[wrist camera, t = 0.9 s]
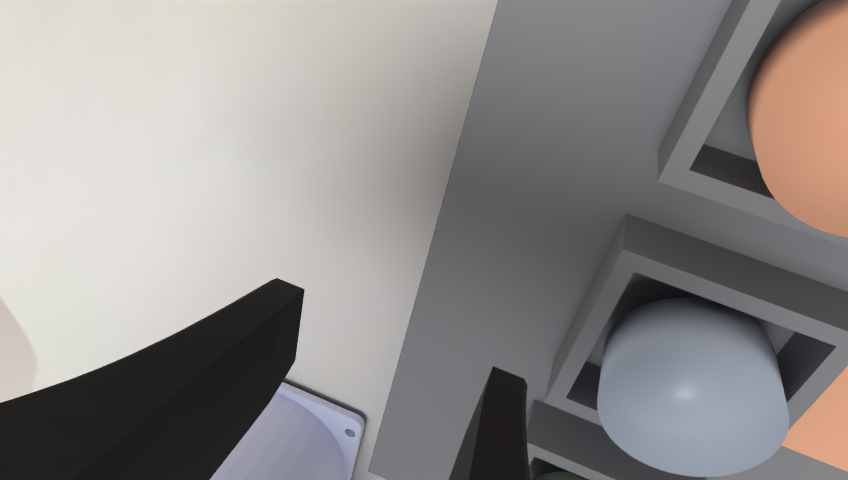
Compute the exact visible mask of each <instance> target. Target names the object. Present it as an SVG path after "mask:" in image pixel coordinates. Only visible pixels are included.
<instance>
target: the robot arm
mask: <svg viewBox="0 0 848 480" xmlns="http://www.w3.org/2000/svg"><path fill="white" fill-rule="evenodd" d="M303 296H304V289H302V288H300V287H297V286H295V285H292V284H290V283H288V282H285V281H283V280H280V279H278V278H276V279H274V280H271V281H269V282H268V283H266V284H264V285H262V286H261V287H259V288H257V289H255V290H254V291H252V292H250V293H249V294H247V295H245V296H243V297H242V298H240V299H238V300H236V301H235V302H233V303H231V304H229V305H227V306H226V307H224V308H222V309H220V310H219V311H217V312H215V313H213V314H211V315H209V316H207V317H206V318H204V319H202V320H200V321H198V322H196V323H194V324H192V325H190V326H189V327H187V328H185V329H183V330H181V331H179V332H177V333H175V334H173V335H171V336H169V337H167V338H165V339H163V340H161V341H159V342H157V343H154V344H152V345H150V346H148V347H146V348H144V349H142V350H140V351H138V352H135V353H133V354H131V355H129V356H127V357H124V358H122V359H120V360H117V361H115V362H113V363H111V364H108V365H106V366H103V367H101V368H98V369H96V370H93V371H91V372H88V373H86V374H83V375H81V376H78V377H76V378H73V379H70V380H68V381H65V382H62V383H59V384H56V385H53V386H50V387H47V388H45V389H42V390H39V391H36V392H33V393H30V394H27V395H24V396H21V397H18V398H15V399H12V400H9V401H5V402H2V403H0V480H351V477H352V473H353V469H354V465H355V462H356V458H357V454H358V450H359V446H360V442H361V438H362V434H363V430H364V426H365V422H364V420H363V418H362V417H361V416H359V415H358V414H356V413H354V412H351V411H349V410H347V409H344V408H342V407H340V406H337V405H335V404H333V403H330V402H328V401H326V400H323V399H321V398H319V397H317V396H314V395H312V394H310V393H307V392H305V391H303V390H300V389H298V388H296V387H293V386H291V385H289V384H286V383H284V382H283V380H284V378H285V376H286V375H287V373H288V371H289V370H290V368H291V366H292V365H293V363H294V361H295V357H296V350H297V342H298V334H299V327H300V319H301V311H302V304H303ZM527 387H528V385H527V383H526V381H525V379H524V378H521V377H519V376H516V375H514V374H512V373H509V372H507V371H504V370H502V369H499V368H497V367H494V366H493V367H492V370H491V372H490V374H489V377H488V379H487V382H486V384H485V387H484V389H483V391H482V394H481V396H480V399H479V401H478V404H477V406H476V408H475V411H474V413H473V416H472V418H471V420H470V423H469V425H468V428H467V430H466V433H465V435H464V438H463V441H462V444H461V446H460V449H459V452H458V455H457V458H456V460H455V463H454V466H453V469H452V472H451V474H450V477H449V480H531V479H530V470H529V461H528V449H527V430H526V399H527Z"/></svg>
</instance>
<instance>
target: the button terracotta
mask: <svg viewBox="0 0 848 480" xmlns="http://www.w3.org/2000/svg"><path fill="white" fill-rule="evenodd" d="M746 122H747V128H748V131H749V134H750V138H751V141H752V145H753V148H754V151H755V155H756V158H757V161H758V165H759V168H760V171H761V175H762V178H763V180H764V182H765V184H766V186H767V188H768V189H769V191H770V192H771V194H772V195H773V196H774V198H775V199H776V200H777V201H778V202H779V203H780V205H781V206H782V207H783V208H784V209H785V210H787V211H788V212H789V213H791V214H792V215H793V216H794V217H796V218H797V219H799V220H801V221H802V222H804V223H806V224H808V225H809V226H811V227H814V228H816V229H819V230H821V231H824V232H827V233H830V234H834V235H837V236H841V237H847V238H848V0H822V1H820V2H819V3H817V4H815V5H814V6H812V7H811V8H809V9H808V10H806V11H805V12H803V13H802V14H801V15H799V16H798V17H797V18H796V19H794V20H793V21H792V22H791V23H789V24H788V25H787V26H786V27H785V28H784V29H783V30H782V31H781V32H780V33H779V34H778V35H777V37H776V38H775V39H774V40H773V41H772V43H771V44H770V45H769V46H768V48H767V49H766V51H765V52H764V54H763V55H762V57H761V59H760V60H759V62H758V64H757V66H756V68H755V70H754V72H753V75H752V78H751V81H750V84H749V87H748V92H747V97H746Z"/></svg>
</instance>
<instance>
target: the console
mask: <svg viewBox="0 0 848 480" xmlns="http://www.w3.org/2000/svg"><path fill="white" fill-rule="evenodd" d="M820 1H822V0H498V3H497V7H496V11H495V14H494V18H493V21H492V25H491V29H490V32H489V36H488V40H487V43H486V47H485V50H484V54H483V58H482V61H481V65H480V68H479V72H478V76H477V79H476V83H475V86H474V90H473V94H472V97H471V101H470V105H469V108H468V112H467V115H466V119H465V123H464V126H463V130H462V133H461V137H460V141H459V144H458V148H457V151H456V155H455V159H454V162H453V166H452V170H451V173H450V177H449V180H448V184H447V188H446V191H445V195H444V198H443V202H442V206H441V209H440V213H439V216H438V220H437V224H436V227H435V231H434V234H433V238H432V242H431V245H430V249H429V253H428V256H427V260H426V263H425V267H424V271H423V274H422V278H421V281H420V285H419V289H418V292H417V296H416V299H415V303H414V307H413V310H412V314H411V318H410V321H409V325H408V328H407V332H406V336H405V339H404V343H403V346H402V350H401V354H400V357H399V361H398V364H397V368H396V372H395V375H394V379H393V383H392V386H391V390H390V393H389V397H388V401H387V404H386V408H385V411H384V415H383V419H382V422H381V426H380V429H379V433H378V437H377V440H376V444H375V448H374V451H373V455H372V458H371V462H370V466H369V469H368V471H369V472H371V473H373V474H375V475H378V476H380V477H382V478H384V479H387V480H449V477H450V474H451V472H452V469H453V466H454V463H455V460H456V458H457V455H458V452H459V449H460V446H461V444H462V441H463V438H464V435H465V433H466V430H467V428H468V425H469V423H470V420H471V418H472V416H473V413H474V411H475V408H476V406H477V404H478V401H479V399H480V396H481V394H482V391H483V389H484V387H485V384H486V382H487V379H488V377H489V374H490V372H491V370H492V367H493V366H494V367H497V368H499V369H502V370H504V371H507V372H509V373H512V374H514V375H516V376H519V377H521V378H524V379H525V381H526V383H527V385H528V387H527V399H526V430H527V449H528V461H529V470H530V479H531V480H532V479H534V478H536V477H538V476H540V475H543V474H546V473H552V472H562V471H565V472H572V473H575V474H577V475H579V476H582V477H584V478H586V479H589V480H848V238H847V237H841V236H837V235H834V234H830V233H827V232H824V231H821V230H819V229H816V228H814V227H811V226H809V225H808V224H806V223H804V222H802V221H801V220H799V219H797V218H796V217H794V216H793V215H792V214H791V213H789V212H788V211H787V210H785V209H784V208H783V207H782V206H781V205H780V203H779V202H778V201H777V200H776V199H775V198H774V196H773V195H772V194H771V192H770V191H769V189H768V188H767V186H766V184H765V182H764V180H763V178H762V175H761V171H760V168H759V165H758V161H757V158H756V155H755V151H754V148H753V145H752V141H751V138H750V134H749V131H748V128H747V122H746V97H747V92H748V87H749V84H750V81H751V78H752V75H753V72H754V70H755V68H756V66H757V64H758V62H759V60H760V59H761V57H762V55H763V54H764V52H765V51H766V49H767V48H768V46H769V45H770V44H771V43H772V41H773V40H774V39H775V38H776V37H777V35H778V34H779V33H780V32H781V31H782V30H783V29H784V28H785V27H786V26H787V25H788V24H789V23H791V22H792V21H793V20H794V19H796V18H797V17H798V16H799V15H801V14H802V13H803V12H805V11H806V10H808V9H809V8H811V7H812V6H814V5H815V4H817V3H819V2H820ZM670 298H697V299H704V300H709V301H714V302H717V303H720V304H723V305H726V306H728V307H731V308H733V309H736V310H738V311H739V312H741V313H743V314H745V315H746V316H748V317H749V318H750V319H752V320H753V321H754V322H755V323H757V324H758V325H759V326H760V327H761V328H762V329H763V331H764V332H765V333H766V335H767V336H768V337H769V339H770V341H771V343H772V345H773V347H774V350H775V353H776V357H777V362H778V366H779V371H780V375H781V380H782V384H783V389H784V394H785V398H786V403H787V407H788V413H789V428H788V432H787V435H786V438H785V440H784V442H783V443H782V445H781V446H780V448H779V449H778V450H777V451H776V452H775V453H774V454H773V455H772V456H771V457H770V458H768V459H767V460H766V461H764V462H763V463H761V464H759V465H757V466H755V467H753V468H751V469H748V470H745V471H743V472H739V473H735V474H731V475H725V476H717V477H693V476H684V475H679V474H673V473H669V472H666V471H662V470H659V469H656V468H654V467H651V466H649V465H647V464H644V463H642V462H640V461H639V460H637V459H635V458H633V457H632V456H630V455H629V454H627V453H626V452H625V451H623V450H622V449H621V448H620V447H619V446H618V445H616V444H615V443H614V441H613V440H612V439H611V438H610V437H609V435H608V434H607V433H606V431H605V430H604V428H603V426H602V424H601V422H600V418H599V415H598V410H597V397H598V389H599V382H600V374H601V366H602V358H603V350H604V345H605V341H606V338H607V336H608V334H609V332H610V331H611V329H612V328H613V326H614V325H615V324H616V323H617V322H618V321H619V320H620V319H621V318H622V317H623V316H624V315H626V314H627V313H629V312H630V311H632V310H634V309H635V308H638V307H640V306H642V305H644V304H647V303H651V302H654V301H658V300H663V299H670Z"/></svg>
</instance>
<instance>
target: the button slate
mask: <svg viewBox="0 0 848 480" xmlns="http://www.w3.org/2000/svg"><path fill="white" fill-rule="evenodd" d="M597 410H598V415H599V418H600V422H601V424H602V426H603V428H604V430H605V431H606V433H607V434H608V435H609V437H610V438H611V439H612V440H613V441H614V443H615V444H616V445H618V446H619V447H620V448H621V449H622V450H623V451H625V452H626V453H627V454H629V455H630V456H632V457H633V458H635V459H637V460H639V461H640V462H642V463H644V464H647V465H649V466H651V467H654V468H656V469H659V470H662V471H666V472H669V473H673V474H679V475H684V476H693V477H717V476H725V475H731V474H735V473H739V472H743V471H745V470H748V469H751V468H753V467H755V466H757V465H759V464H761V463H763V462H764V461H766V460H767V459H768V458H770V457H771V456H772V455H773V454H774V453H775V452H776V451H777V450H778V449H779V448H780V446H781V445H782V443H783V442H784V440H785V438H786V435H787V432H788V428H789V413H788V407H787V403H786V398H785V394H784V389H783V384H782V380H781V375H780V371H779V366H778V362H777V357H776V353H775V350H774V347H773V345H772V343H771V341H770V339H769V337H768V336H767V335H766V333H765V332H764V331H763V329H762V328H761V327H760V326H759V325H758V324H757V323H755V322H754V321H753V320H752V319H750V318H749V317H748V316H746V315H745V314H743V313H741V312H739V311H738V310H736V309H733V308H731V307H728V306H726V305H723V304H720V303H717V302H714V301H709V300H704V299H697V298H670V299H663V300H658V301H654V302H651V303H647V304H644V305H642V306H640V307H638V308H635V309H634V310H632V311H630V312H629V313H627V314H626V315H624V316H623V317H622V318H621V319H620V320H619V321H618V322H617V323H616V324H615V325H614V326H613V328H612V329H611V331H610V332H609V334H608V336H607V338H606V341H605V345H604V350H603V358H602V366H601V374H600V382H599V389H598V397H597Z"/></svg>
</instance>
